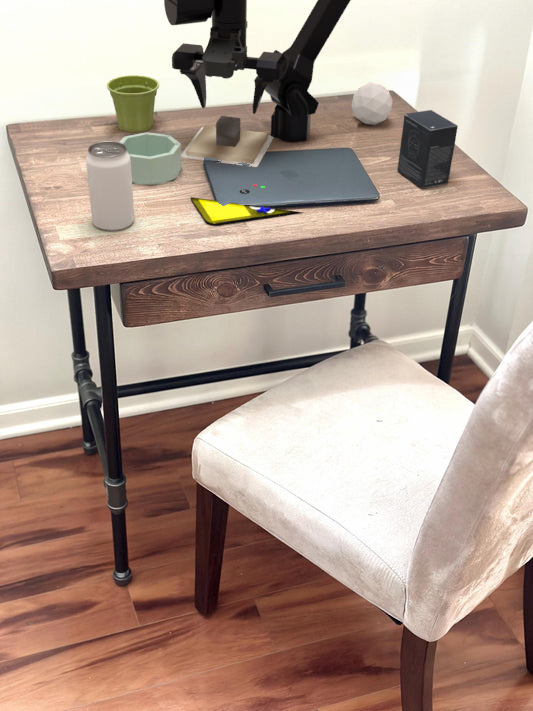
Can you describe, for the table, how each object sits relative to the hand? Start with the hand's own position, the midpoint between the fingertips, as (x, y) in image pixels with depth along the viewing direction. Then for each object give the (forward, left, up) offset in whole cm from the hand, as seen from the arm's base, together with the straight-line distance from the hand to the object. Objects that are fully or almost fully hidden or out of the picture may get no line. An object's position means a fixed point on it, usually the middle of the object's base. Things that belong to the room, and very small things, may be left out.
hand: (229, 110), depth 152 cm
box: (-35, +1, -8) cm, 36 cm away
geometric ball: (-23, -21, -8) cm, 32 cm away
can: (+10, +31, -8) cm, 34 cm away
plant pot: (+19, -4, -8) cm, 21 cm away
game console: (-9, +19, -8) cm, 23 cm away
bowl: (+10, +14, -8) cm, 19 cm away
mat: (0, 0, -8) cm, 8 cm away
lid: (0, 0, -7) cm, 7 cm away
